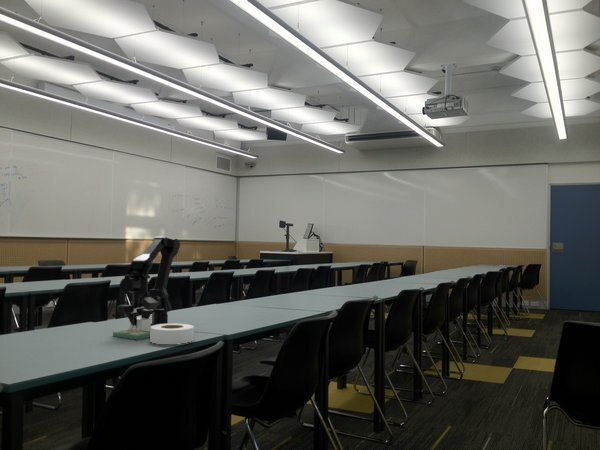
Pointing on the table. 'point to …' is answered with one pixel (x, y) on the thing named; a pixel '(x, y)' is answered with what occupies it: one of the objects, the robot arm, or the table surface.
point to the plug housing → (142, 324)
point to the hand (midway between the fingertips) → (139, 328)
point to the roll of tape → (171, 333)
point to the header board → (132, 333)
